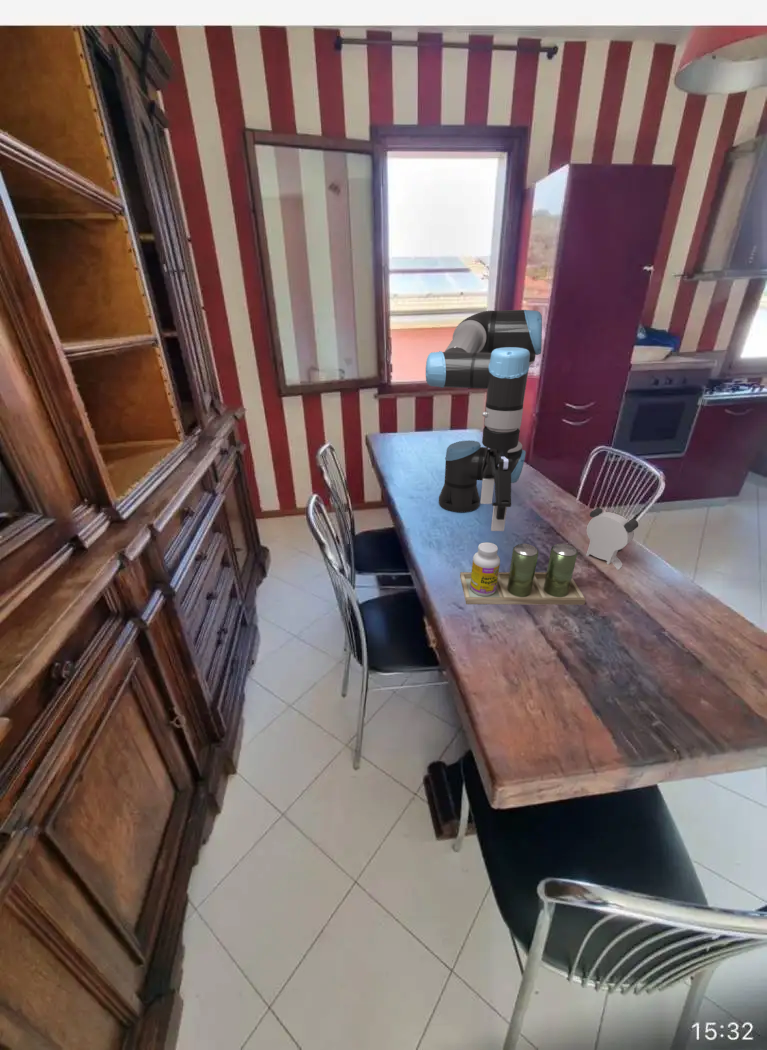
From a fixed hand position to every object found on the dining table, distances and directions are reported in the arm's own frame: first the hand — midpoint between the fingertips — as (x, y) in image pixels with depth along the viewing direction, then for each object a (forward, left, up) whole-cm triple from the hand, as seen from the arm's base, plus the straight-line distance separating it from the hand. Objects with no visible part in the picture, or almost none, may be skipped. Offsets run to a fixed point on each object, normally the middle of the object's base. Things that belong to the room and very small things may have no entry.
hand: (491, 516), depth 99 cm
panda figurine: (-15, +37, -23) cm, 46 cm away
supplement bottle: (0, 0, -22) cm, 22 cm away
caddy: (0, +9, -23) cm, 24 cm away
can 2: (0, +19, -22) cm, 29 cm away
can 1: (0, +9, -22) cm, 24 cm away
